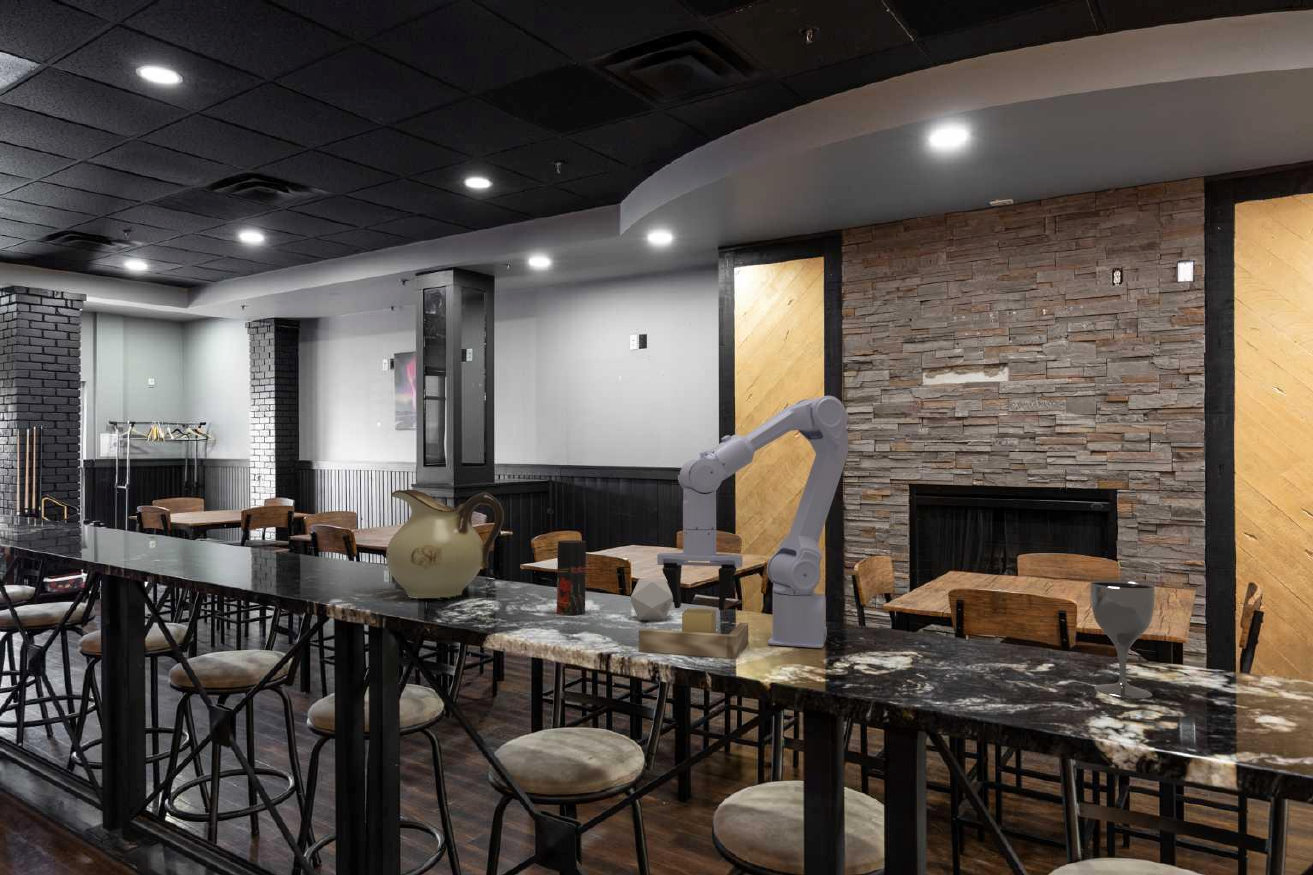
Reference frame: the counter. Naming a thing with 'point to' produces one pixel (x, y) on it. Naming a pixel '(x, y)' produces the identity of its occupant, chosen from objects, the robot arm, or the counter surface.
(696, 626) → the block
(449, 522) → the pitcher
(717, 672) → the counter surface
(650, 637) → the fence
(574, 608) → the deodorant
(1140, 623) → the wine glass
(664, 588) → the die
